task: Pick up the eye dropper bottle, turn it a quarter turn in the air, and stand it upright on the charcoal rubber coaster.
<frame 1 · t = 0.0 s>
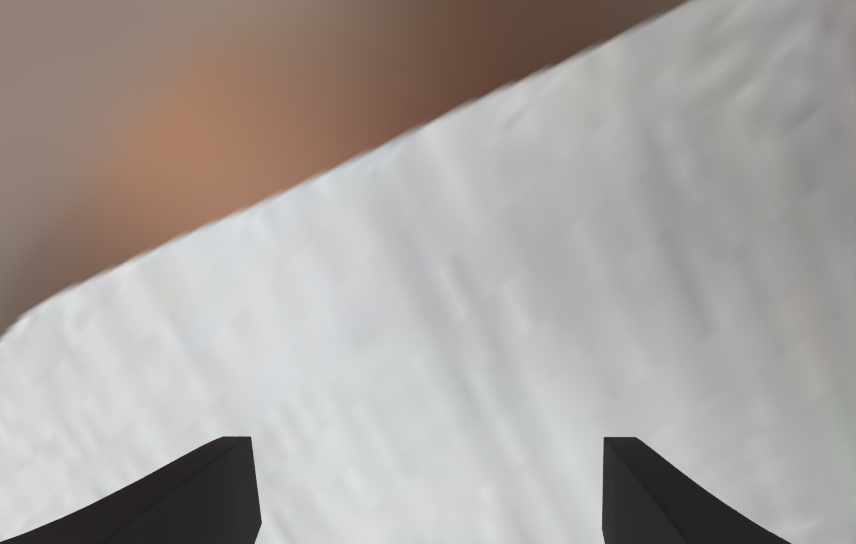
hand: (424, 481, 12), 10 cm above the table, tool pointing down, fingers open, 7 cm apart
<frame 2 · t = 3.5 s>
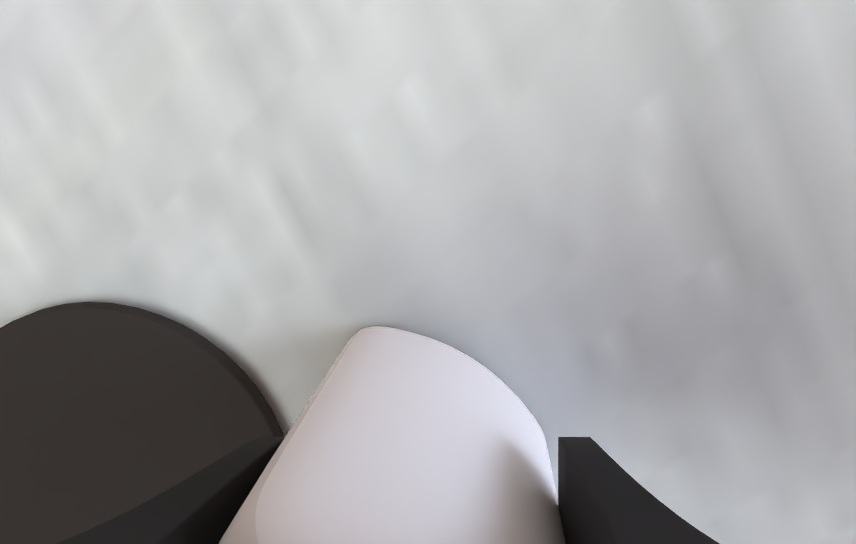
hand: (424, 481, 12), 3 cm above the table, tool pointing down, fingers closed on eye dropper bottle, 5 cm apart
eye dropper bottle: (436, 403, 15), on the table, touching gripper
coaster: (120, 473, 17), on the table
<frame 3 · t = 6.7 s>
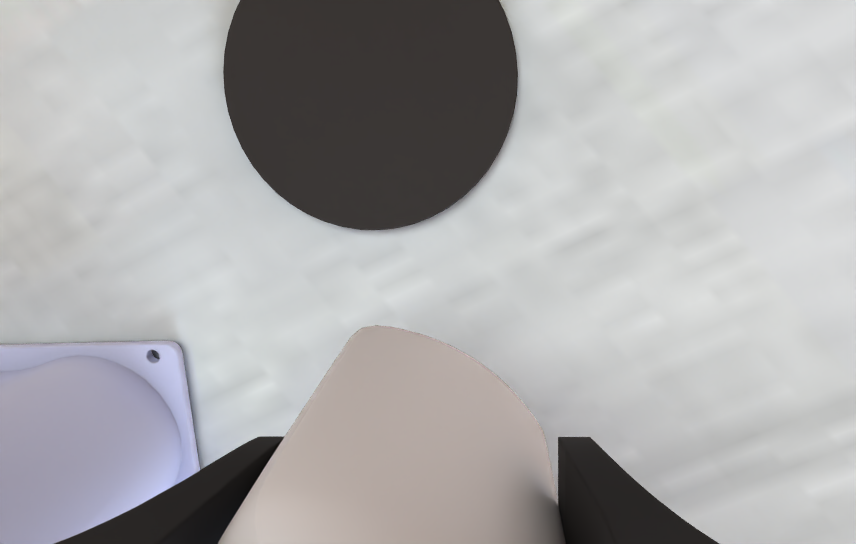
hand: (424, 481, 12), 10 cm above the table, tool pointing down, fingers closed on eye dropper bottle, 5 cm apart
eye dropper bottle: (436, 402, 15), point 7 cm above the table, touching gripper
coaster: (370, 84, 20), on the table
when the fingers open (4 cm above the table, at t = 10.0 s): eye dropper bottle stays where it is, resting on coaster.
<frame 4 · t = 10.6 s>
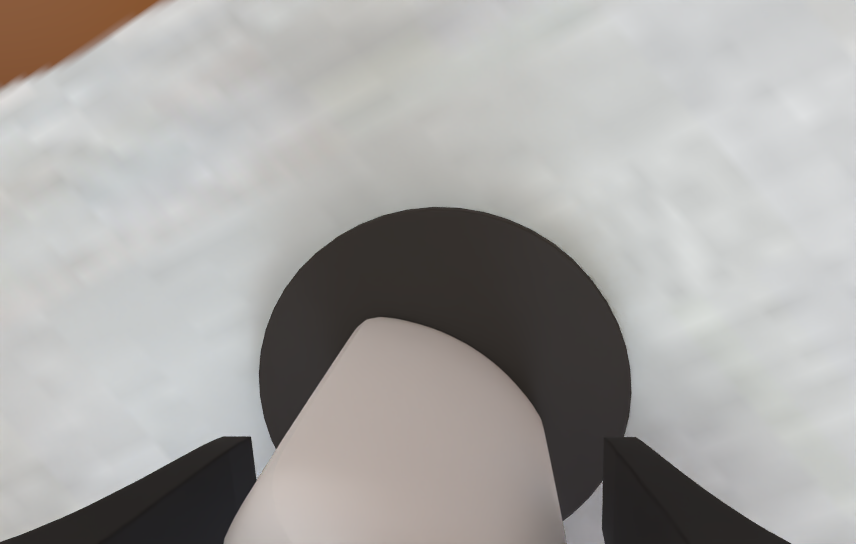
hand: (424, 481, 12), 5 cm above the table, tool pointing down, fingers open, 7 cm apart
eye dropper bottle: (438, 391, 16), resting on coaster
coaster: (440, 387, 16), on the table
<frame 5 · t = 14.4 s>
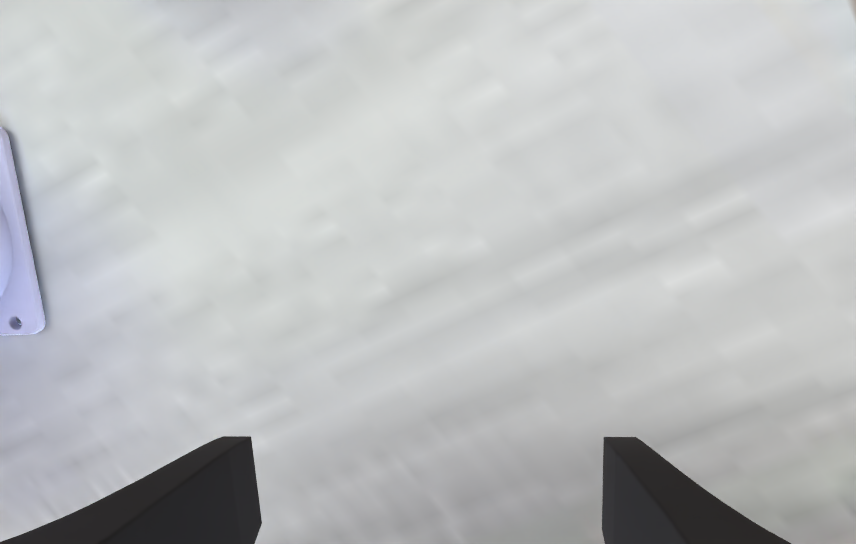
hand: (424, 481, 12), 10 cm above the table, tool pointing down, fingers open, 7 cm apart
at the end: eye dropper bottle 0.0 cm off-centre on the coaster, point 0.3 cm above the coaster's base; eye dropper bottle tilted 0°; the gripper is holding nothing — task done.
